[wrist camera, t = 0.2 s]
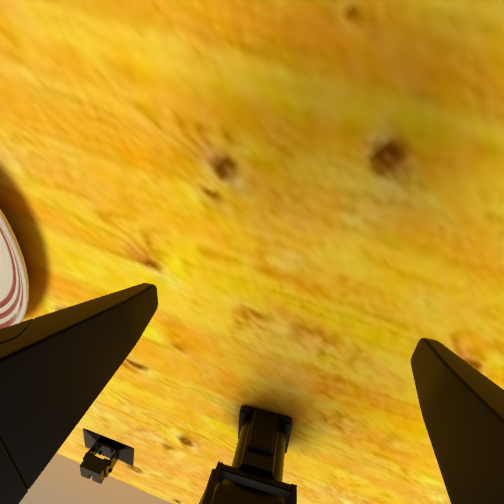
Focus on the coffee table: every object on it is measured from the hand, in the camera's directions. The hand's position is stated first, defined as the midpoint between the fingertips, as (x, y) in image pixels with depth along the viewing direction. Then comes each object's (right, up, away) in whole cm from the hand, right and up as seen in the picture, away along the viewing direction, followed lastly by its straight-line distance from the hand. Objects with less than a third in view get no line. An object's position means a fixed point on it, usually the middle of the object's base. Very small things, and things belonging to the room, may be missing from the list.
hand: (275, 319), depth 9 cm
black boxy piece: (-25, -31, +35) cm, 53 cm away
